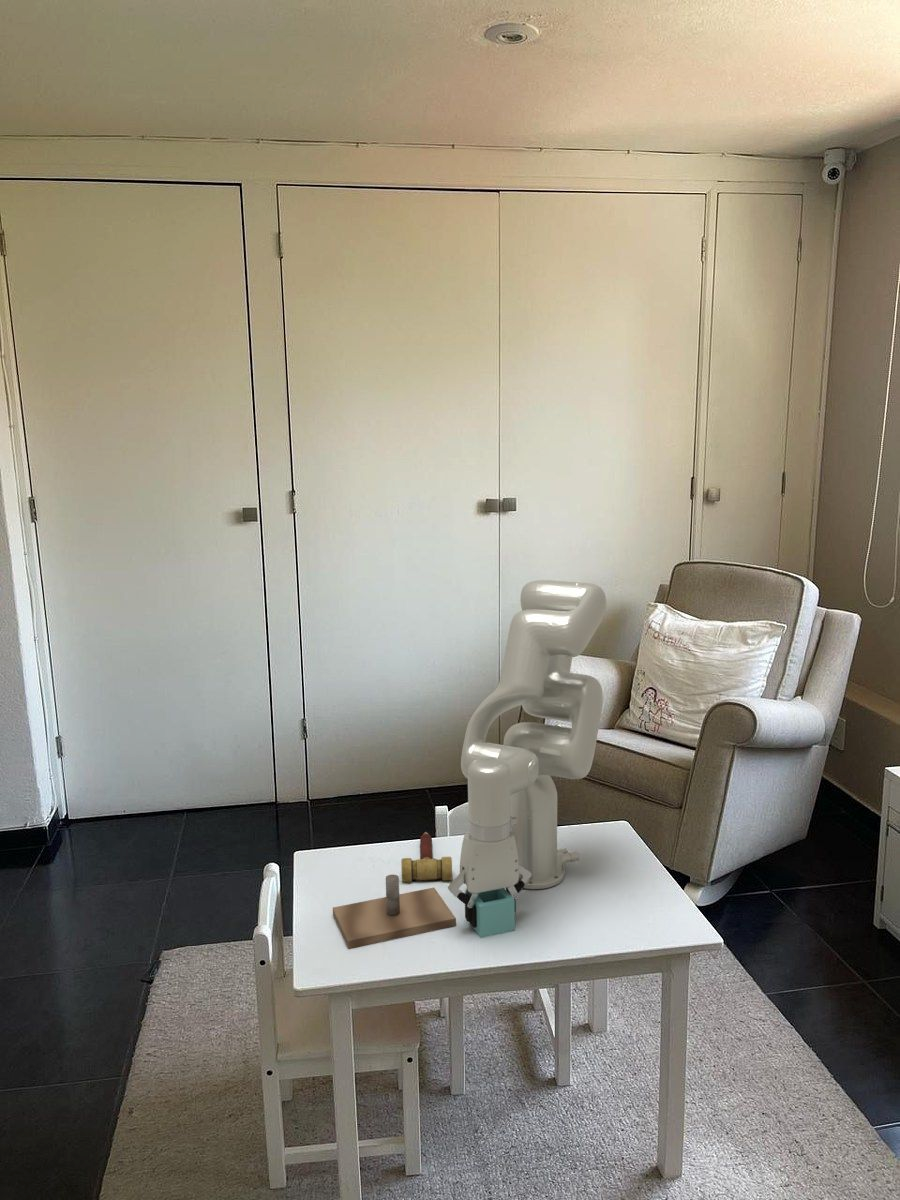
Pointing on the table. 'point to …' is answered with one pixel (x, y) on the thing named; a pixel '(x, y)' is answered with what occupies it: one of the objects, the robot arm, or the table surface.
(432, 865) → the gavel
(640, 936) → the table surface
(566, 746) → the robot arm
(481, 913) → the collar
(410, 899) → the post stand
